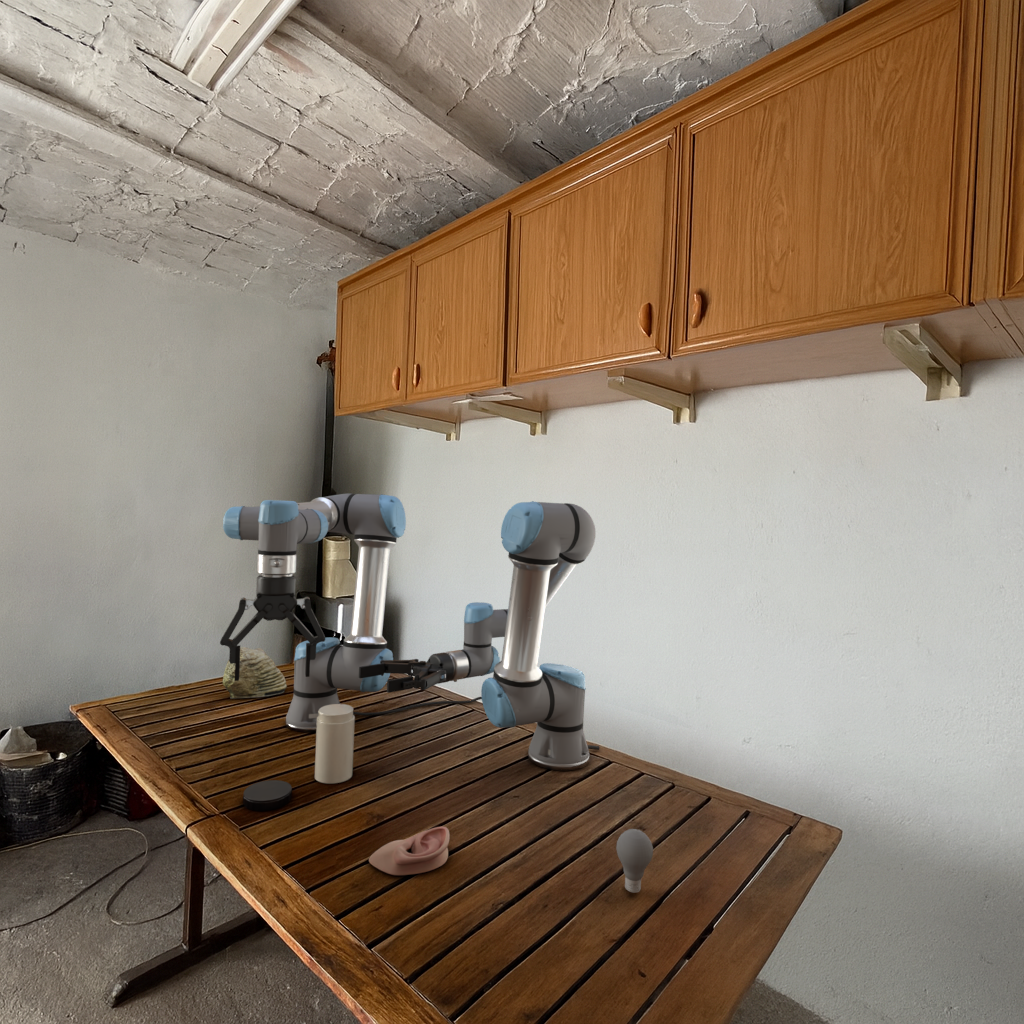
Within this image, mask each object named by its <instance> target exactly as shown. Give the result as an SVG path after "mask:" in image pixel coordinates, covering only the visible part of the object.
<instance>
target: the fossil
mask: <svg viewBox="0 0 1024 1024" xmlns="http://www.w3.org/2000/svg"><path fill="white" fill-rule="evenodd" d="M222 676H223V677H222V685H223V687H224V688H225V690H226V691H228V693H229V698H230V699H250V698H264V697H271V696H275V695H281V694H284V693H285V691H286V689H287V687H288V686H287V680H286V678H285V676H284V674H283V673H282V672H281V669H279V668H278V667H277V665H276V663H275V662H274V660H273V659H272V658H271V657H270V656H269V655H268V654H267V653H266V652H265V650H264V649H263V648H260V647H258V648H251V647H247V646H246V647H245V646H240V673H239V681H235V663H233V664H230V662H229V659H228V660H227V663H226V666H225V668H224V671H223V675H222Z"/></svg>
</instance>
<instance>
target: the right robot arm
mask: <svg viewBox="0 0 1024 1024" xmlns="http://www.w3.org/2000/svg"><path fill="white" fill-rule="evenodd" d="M500 528H501V529H500V538H501V544H502V547H503V548H504V550H505V551H506V552H508V555H507V558H508V559H509V561H511V563H512V565H513V567H512V574H511V575H512V576H511V583H510V592H509V599H508V608H503V609H502V608H501V609H494V606H493V605H492V603H488V602H477V601H476V602H475V601H474V602H469V603H468V604H466V605H465V609H464V617H463V645H462V647H463V649H455V650H449V651H445V652H438V653H432V654H431V655H430V656H429V657H428V659H427V661H426V660H419V659H418V658H414V659H413V658H412V659H393V660H381V661H380V664H374V665H368V666H361V667H359V678H366V677H372V676H378V675H381V676H383V675H384V673H390V674H397V675H399V674H400V675H407V676H404V677H398V678H392V679H388V680H387V682H386V693H388V694H389V693H395V692H400V691H406V690H411V689H413V688H414V689H415V690H418V689H420V690H421V691H426V690H428V689H430V688H432V687H433V686H436V685H438V684H444V683H445V684H446V683H448V682H454V683H456V682H458V681H459V680H464V679H469V678H475V677H483V676H484V677H485V676H487V675H490V674H492V677H487V678H486V679H485V680H484V681H483V682H482V685H481V689H480V690H481V692H480V693H481V694H480V695H481V696H480V697H482V699H481V703H482V706H483V710H484V713H485V714H486V717H487V719H488V721H489V722H490V723H491V724H492V725H493V726H494V727H496V728H500V729H504V728H511V729H512V728H515V727H518V726H519V727H520V726H524V725H531V724H536V728H535V730H534V732H533V736H532V737H531V741H530V743H529V746H528V751H527V752H528V753H527V755H528V756H527V757H528V759H529V761H530V762H531V763H533V764H534V765H536V766H538V767H540V768H544V769H547V770H552V771H562V772H563V771H564V772H565V771H575V770H580V769H582V768H585V767H586V766H587V765H588V764H589V762H590V750H596V751H598V750H600V748H601V747H600V746H599V745H593V744H587V738H586V735H585V731H584V718H585V716H584V714H585V697H586V690H587V688H586V676H585V673H584V672H583V671H582V670H580V669H578V668H576V667H573V666H569V665H564V664H559V663H553V662H552V663H549V662H547V663H546V662H545V663H541V664H540V665H539V666H538V664H539V663H538V662H539V655H540V650H541V649H540V647H541V641H542V633H543V627H544V626H543V625H544V618H545V612H546V608H547V606H548V605H549V603H550V602H551V601H552V599H553V598H554V596H555V595H556V594H557V592H558V591H559V590H560V588H561V587H562V585H563V584H564V583H565V581H566V580H567V578H568V577H569V576H570V574H571V573H572V572H573V570H574V569H575V567H576V566H577V565H581V564H583V563H584V562H585V561H586V559H587V558H588V556H589V555H590V553H591V552H592V550H593V548H594V545H595V542H596V532H597V531H596V525H595V522H594V520H593V518H592V516H591V515H590V513H588V512H587V510H586V509H584V507H582V506H580V505H578V504H574V503H570V502H569V503H568V502H567V503H566V502H564V503H562V502H561V503H559V502H543V501H533V500H532V501H522V502H517V503H515V504H513V505H512V506H511V507H510V508H509V509H507V512H506V513H505V515H504V517H503V520H502V523H501V527H500ZM495 638H497V639H498V638H503V647H502V654H501V657H500V656H499V651H498V649H497V648H496V647H495V646H493V645H492V644H493V643H492V642H493V639H495Z"/></svg>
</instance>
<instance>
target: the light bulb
mask: <svg viewBox="0 0 1024 1024" xmlns="http://www.w3.org/2000/svg"><path fill="white" fill-rule="evenodd" d="M615 849H616V854H617V857H618V859H619V861H620V863H621V865H622V867H623V873H624V874H623V875H624V876H625V878H624V888H625V890H627V891H628V892H630V893H634V894H635V893H639V892H640V891H641V889H642V887H641V886H642V879H643V877H644V875H645V871H646V868H647V867H648V866H649V864H650V863H651V861H652V859H653V855H654V847H653V843H652V841H651V838H649V836H648V835H647V834H646V833H645V832H643V831H642V830H641V829H636V828H629V829H627V830H625V831H623V832H622V833H621V834H620V835H619V837H618V839H617V841H616V847H615Z"/></svg>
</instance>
